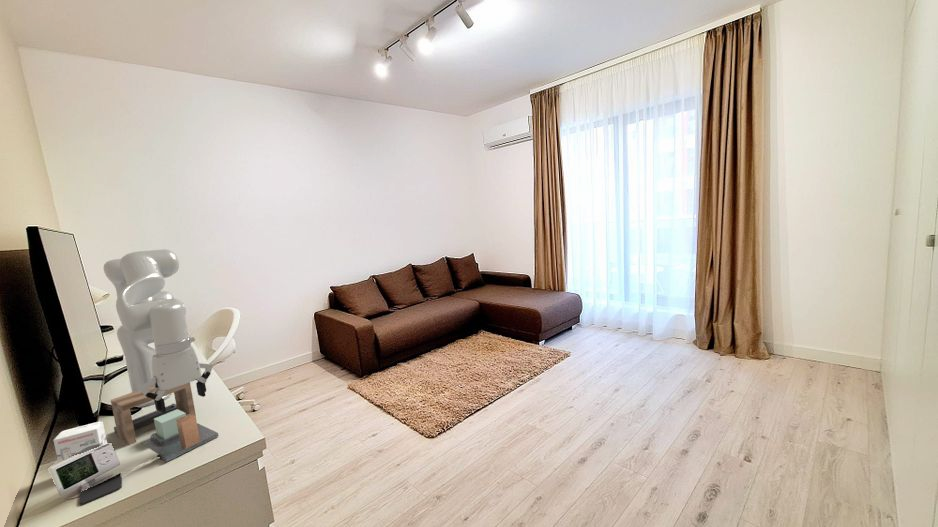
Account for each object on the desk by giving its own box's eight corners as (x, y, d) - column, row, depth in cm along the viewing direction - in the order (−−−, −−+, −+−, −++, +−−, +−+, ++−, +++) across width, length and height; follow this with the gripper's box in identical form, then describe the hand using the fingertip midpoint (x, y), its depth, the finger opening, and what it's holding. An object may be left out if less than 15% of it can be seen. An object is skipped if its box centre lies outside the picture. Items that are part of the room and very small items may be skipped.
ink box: (60, 482, 94) (50, 440, 93) (68, 472, 98) (59, 431, 97) (105, 468, 99) (97, 427, 97) (111, 459, 103) (103, 420, 101)
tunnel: (118, 440, 112) (110, 399, 111) (183, 413, 127) (176, 377, 125) (130, 448, 107) (122, 406, 105) (196, 419, 121) (189, 381, 120)
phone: (120, 462, 100) (122, 486, 90) (120, 465, 100) (122, 489, 90) (81, 477, 95) (78, 505, 84) (81, 480, 95) (79, 508, 84)
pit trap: (115, 435, 115) (113, 427, 115) (175, 411, 129) (174, 403, 128) (120, 439, 113) (118, 430, 112) (181, 414, 126) (179, 406, 126)
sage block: (157, 437, 110) (153, 418, 109) (180, 426, 115) (177, 409, 114) (165, 441, 107) (161, 423, 106) (189, 431, 112) (185, 413, 111)
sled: (141, 445, 108) (135, 417, 107) (191, 423, 119) (187, 397, 118) (166, 462, 99) (160, 431, 98) (218, 436, 110) (213, 408, 109)
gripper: (201, 335, 111) (209, 387, 113) (127, 355, 96) (139, 415, 98) (213, 338, 107) (222, 392, 109) (138, 360, 92) (150, 422, 95)
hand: (182, 403), depth 104 cm, fingers open, 9 cm apart
